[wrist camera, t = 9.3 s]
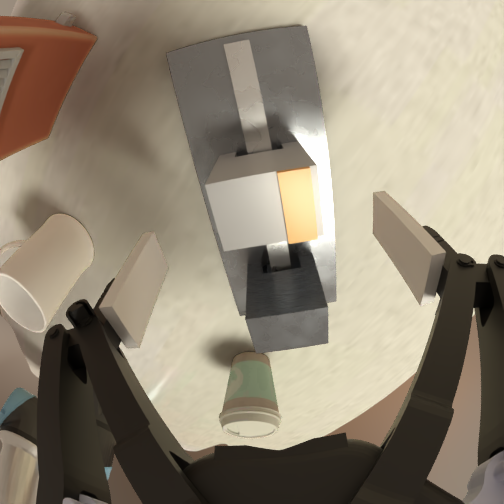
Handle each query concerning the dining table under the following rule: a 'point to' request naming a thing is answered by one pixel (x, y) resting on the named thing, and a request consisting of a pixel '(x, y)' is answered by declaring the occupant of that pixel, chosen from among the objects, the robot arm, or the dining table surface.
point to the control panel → (36, 75)
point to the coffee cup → (250, 398)
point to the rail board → (283, 124)
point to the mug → (44, 271)
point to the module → (266, 197)
